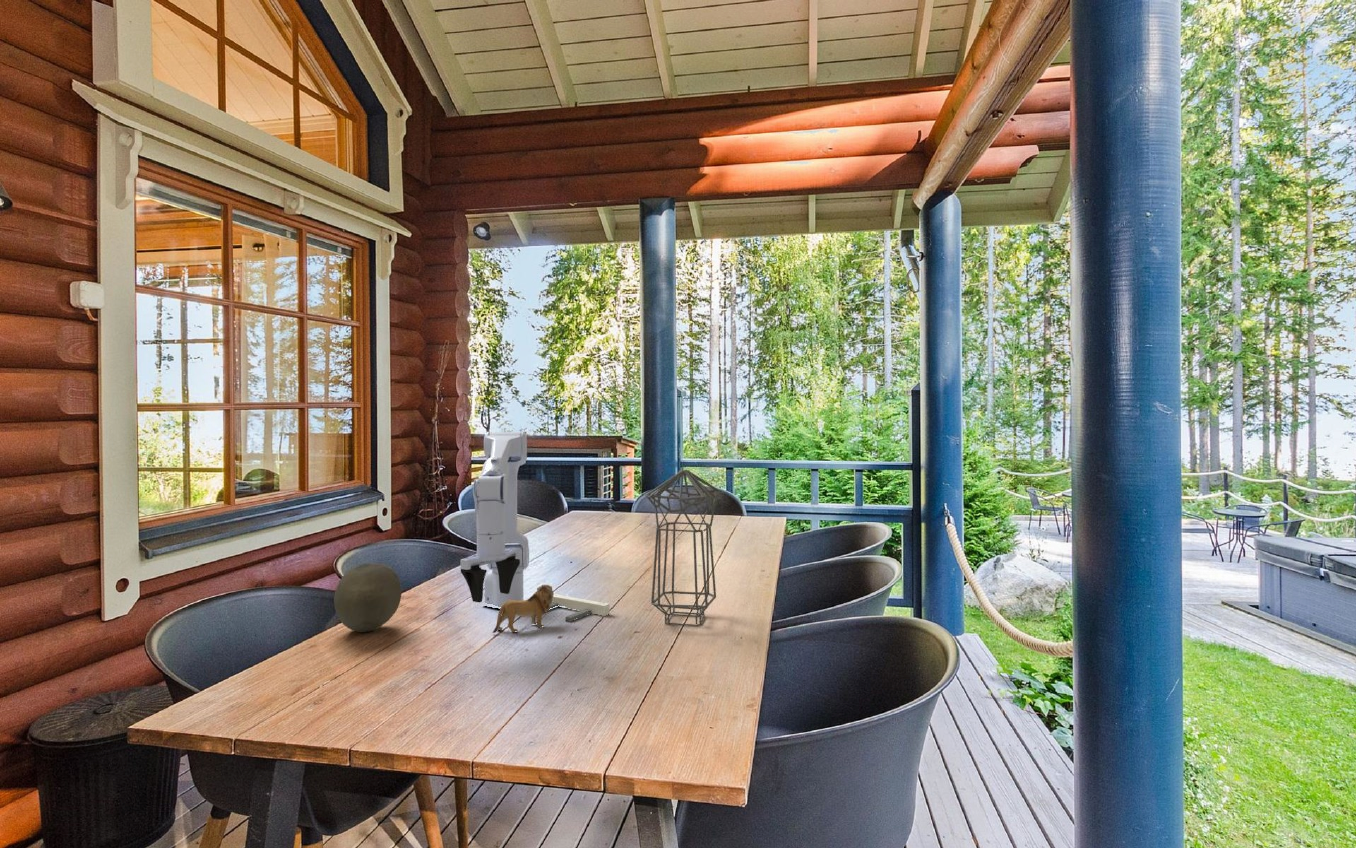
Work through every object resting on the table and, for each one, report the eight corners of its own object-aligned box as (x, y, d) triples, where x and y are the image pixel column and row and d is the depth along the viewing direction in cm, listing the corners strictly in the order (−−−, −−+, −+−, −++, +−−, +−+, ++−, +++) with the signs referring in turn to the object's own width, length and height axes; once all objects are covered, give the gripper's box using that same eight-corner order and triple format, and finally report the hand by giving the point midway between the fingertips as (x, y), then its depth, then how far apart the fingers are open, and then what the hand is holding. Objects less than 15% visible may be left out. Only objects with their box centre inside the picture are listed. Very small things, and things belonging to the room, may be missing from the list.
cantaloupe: (318, 638, 143) (317, 569, 143) (366, 619, 157) (366, 556, 157) (371, 645, 139) (371, 573, 139) (417, 624, 152) (416, 559, 152)
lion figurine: (547, 619, 156) (547, 581, 156) (558, 624, 152) (558, 585, 152) (487, 632, 147) (487, 592, 147) (498, 638, 143) (497, 596, 143)
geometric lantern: (643, 628, 149) (642, 472, 149) (661, 608, 165) (660, 467, 164) (712, 633, 146) (711, 473, 145) (724, 612, 161) (723, 467, 161)
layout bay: (520, 611, 162) (520, 601, 162) (547, 602, 170) (547, 592, 170) (584, 624, 152) (583, 613, 152) (609, 614, 160) (609, 603, 160)
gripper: (477, 539, 132) (477, 608, 132) (529, 529, 144) (529, 592, 144) (453, 536, 135) (453, 603, 135) (505, 526, 148) (506, 587, 148)
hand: (491, 597), depth 140 cm, fingers open, 7 cm apart
